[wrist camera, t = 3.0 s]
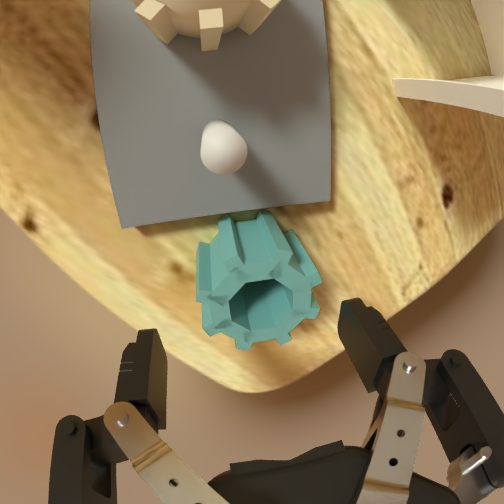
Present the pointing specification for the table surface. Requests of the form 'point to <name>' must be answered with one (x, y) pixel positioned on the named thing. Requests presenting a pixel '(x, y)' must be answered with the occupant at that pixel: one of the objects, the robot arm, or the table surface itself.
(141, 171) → the board
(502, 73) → the white folded wall panels
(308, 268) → the gear
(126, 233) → the table surface
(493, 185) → the table surface
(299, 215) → the table surface
